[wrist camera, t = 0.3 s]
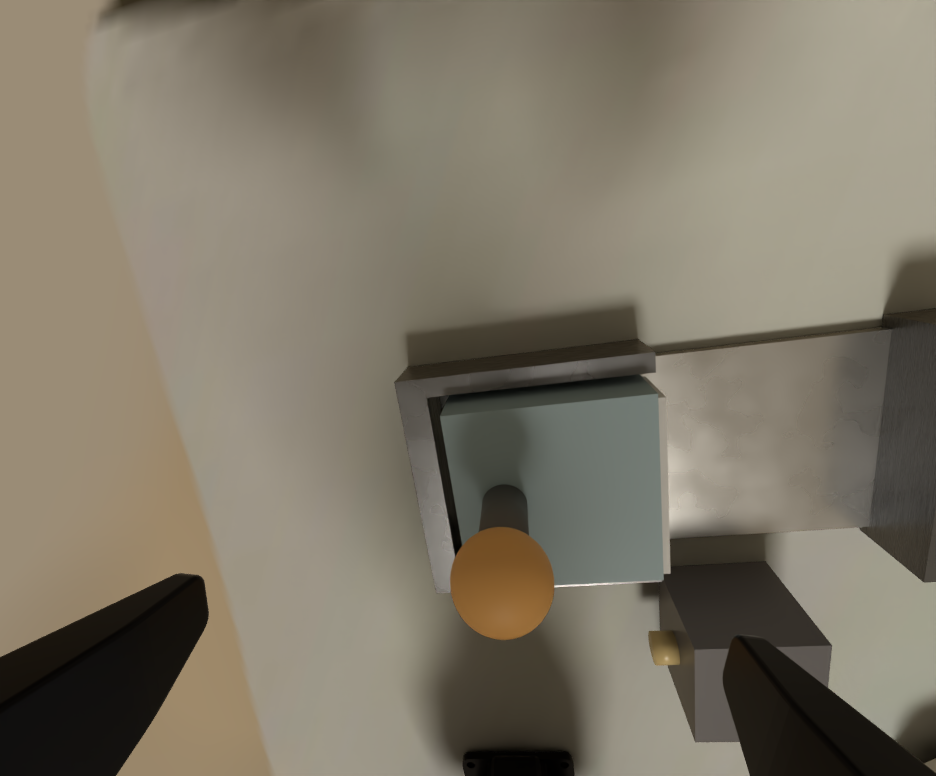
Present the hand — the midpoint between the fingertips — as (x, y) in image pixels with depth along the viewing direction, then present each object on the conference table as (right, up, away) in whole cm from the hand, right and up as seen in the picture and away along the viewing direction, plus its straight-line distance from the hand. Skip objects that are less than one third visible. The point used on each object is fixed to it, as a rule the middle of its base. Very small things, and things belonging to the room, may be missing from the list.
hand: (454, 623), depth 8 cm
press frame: (+9, +1, +13) cm, 16 cm away
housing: (+13, -7, +16) cm, 21 cm away
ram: (+4, 0, +13) cm, 14 cm away
